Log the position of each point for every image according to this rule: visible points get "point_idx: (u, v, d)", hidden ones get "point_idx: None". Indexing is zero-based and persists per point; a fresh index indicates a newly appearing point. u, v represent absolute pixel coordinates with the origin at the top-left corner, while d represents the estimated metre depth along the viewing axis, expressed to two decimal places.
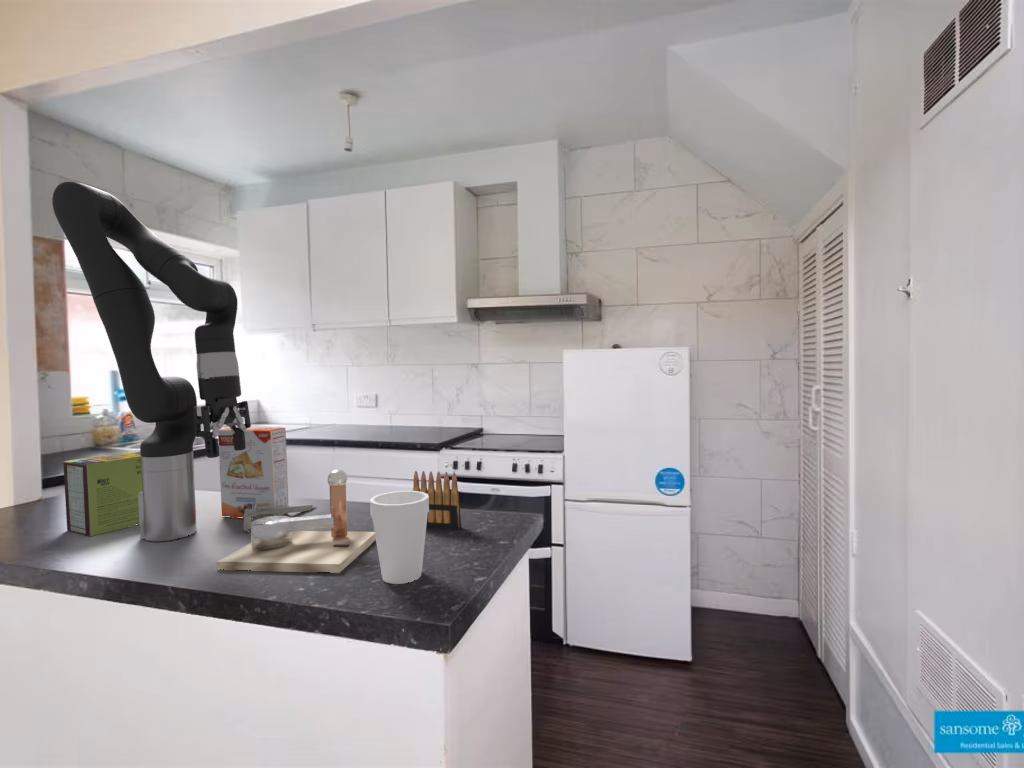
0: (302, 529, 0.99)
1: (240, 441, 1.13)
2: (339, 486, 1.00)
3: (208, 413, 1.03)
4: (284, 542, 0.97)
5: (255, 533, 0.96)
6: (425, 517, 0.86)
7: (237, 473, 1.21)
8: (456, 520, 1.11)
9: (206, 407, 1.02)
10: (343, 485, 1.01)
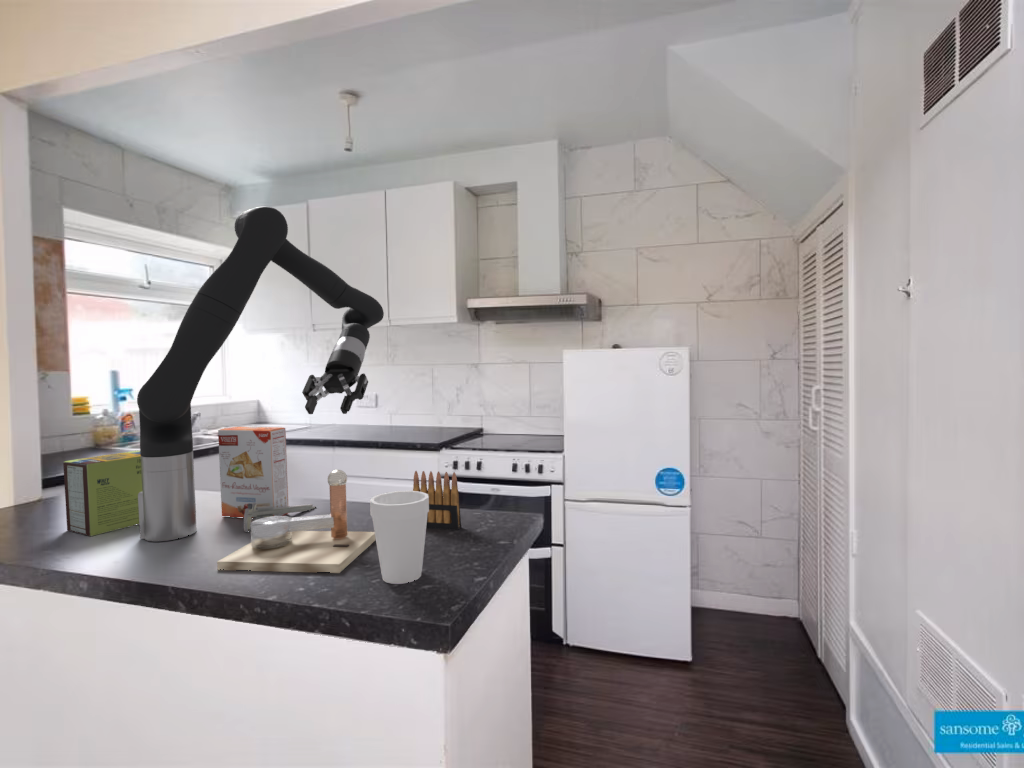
0: (302, 529, 0.99)
1: (313, 407, 1.19)
2: (339, 486, 1.00)
3: None
4: (284, 542, 0.97)
5: (255, 533, 0.96)
6: (425, 517, 0.86)
7: (237, 473, 1.21)
8: (456, 520, 1.11)
9: None
10: (343, 485, 1.01)
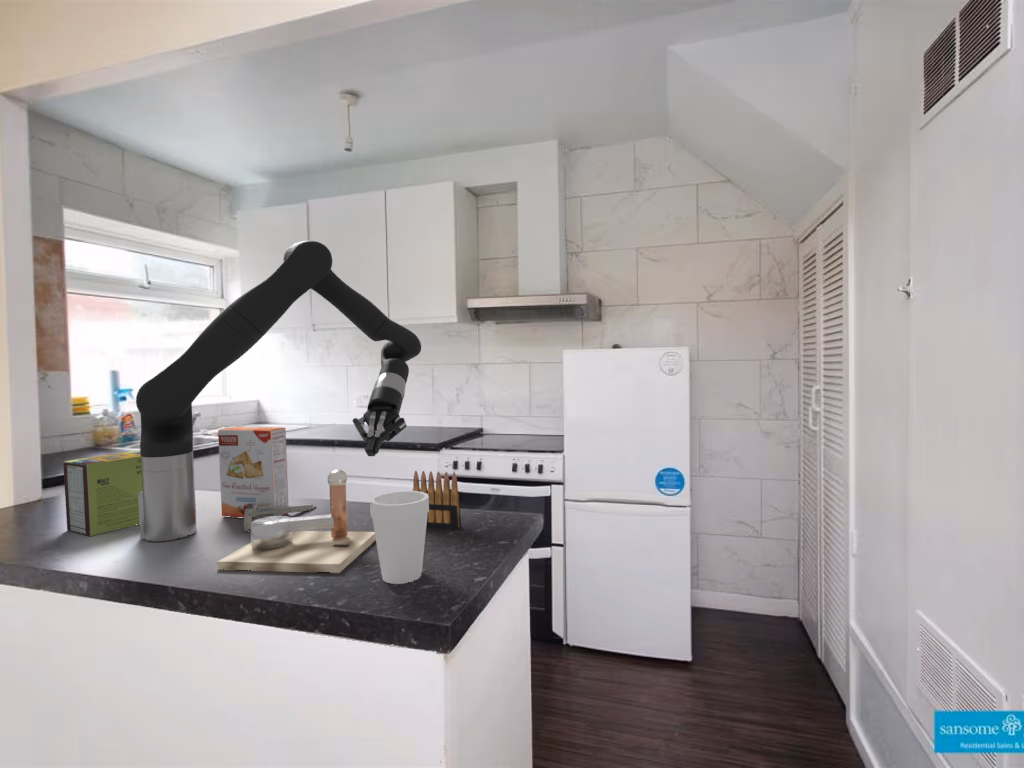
0: (302, 529, 0.99)
1: None
2: (339, 486, 1.00)
3: None
4: (284, 542, 0.97)
5: (255, 533, 0.96)
6: (425, 517, 0.86)
7: (237, 473, 1.21)
8: (456, 520, 1.11)
9: None
10: (343, 485, 1.01)
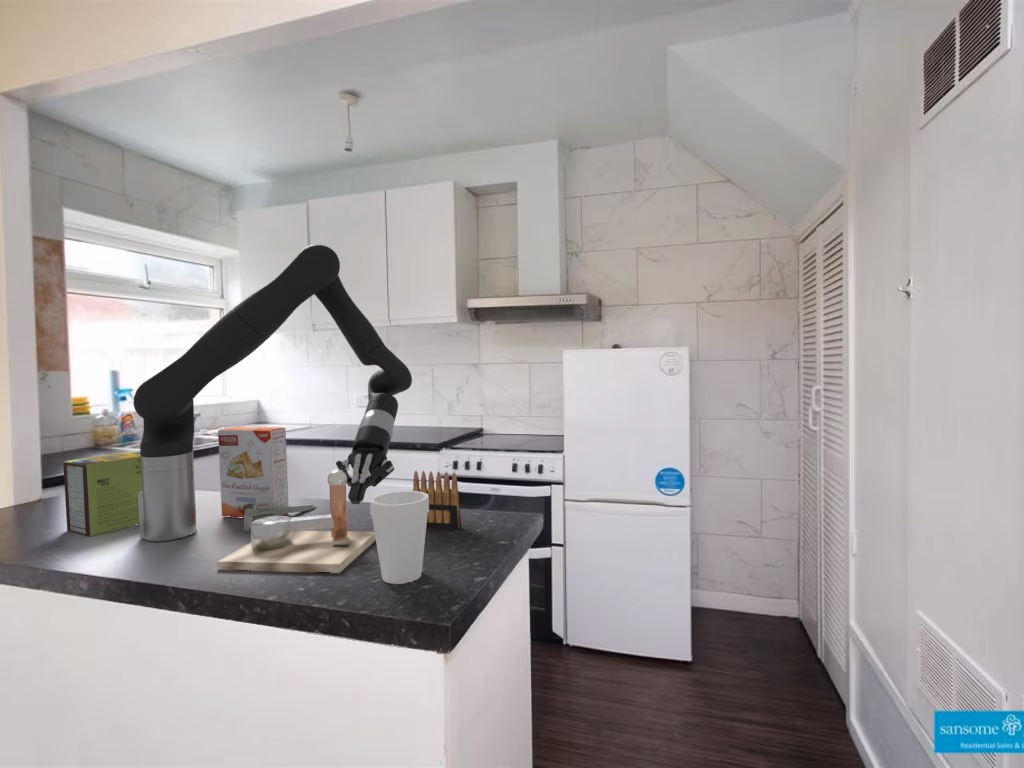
0: (302, 529, 0.99)
1: None
2: (339, 486, 1.00)
3: None
4: (284, 542, 0.97)
5: (255, 533, 0.96)
6: (425, 517, 0.86)
7: (237, 473, 1.21)
8: (456, 520, 1.11)
9: None
10: (343, 485, 1.01)
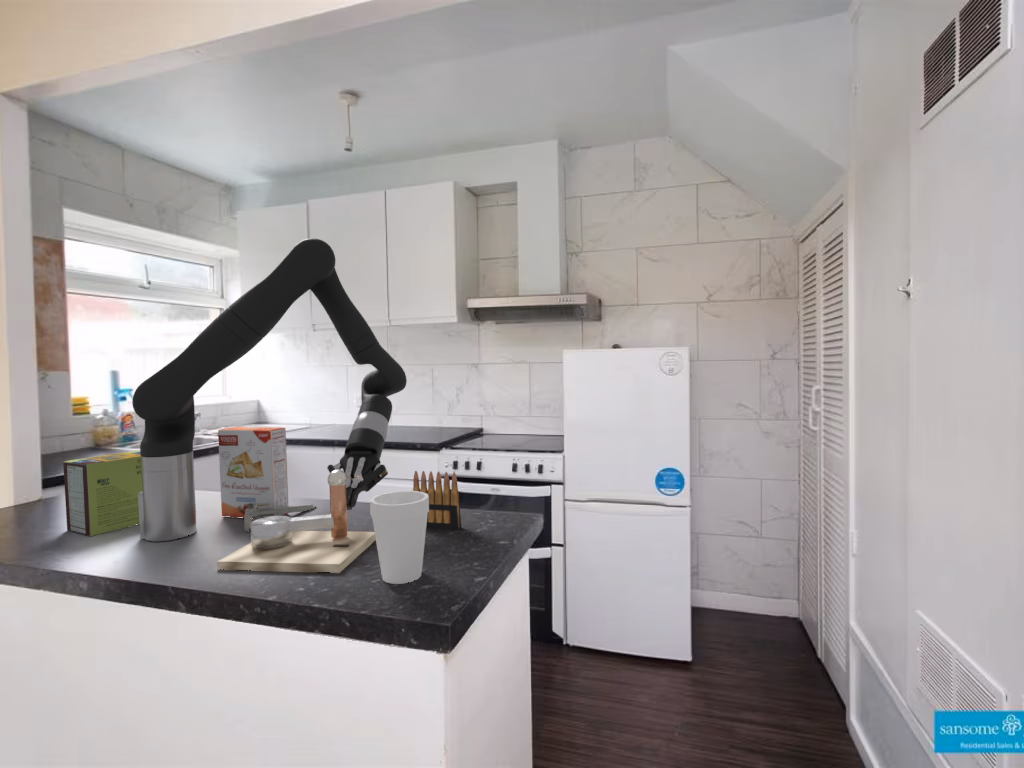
0: (302, 529, 0.99)
1: None
2: (339, 486, 1.00)
3: None
4: (284, 542, 0.97)
5: (255, 533, 0.96)
6: (425, 517, 0.86)
7: (237, 473, 1.21)
8: (456, 520, 1.11)
9: None
10: (343, 485, 1.01)
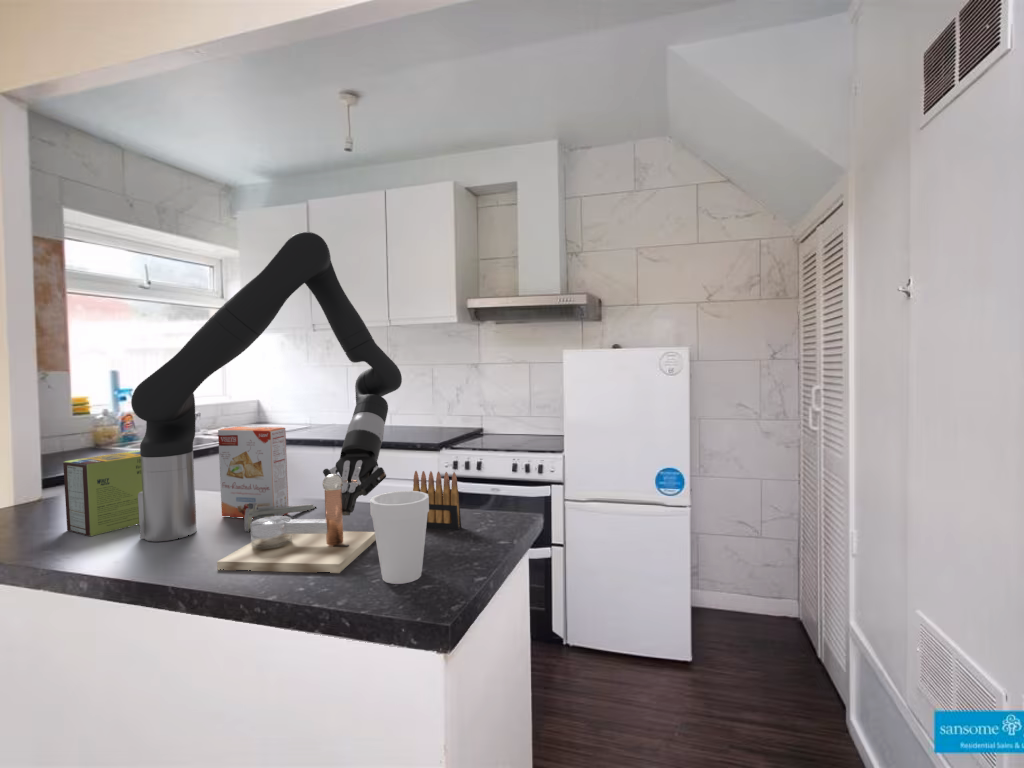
0: (297, 532, 0.97)
1: None
2: (332, 491, 0.96)
3: None
4: (278, 544, 0.96)
5: (252, 532, 0.96)
6: (425, 517, 0.86)
7: (237, 473, 1.21)
8: (456, 520, 1.11)
9: None
10: (337, 490, 0.97)
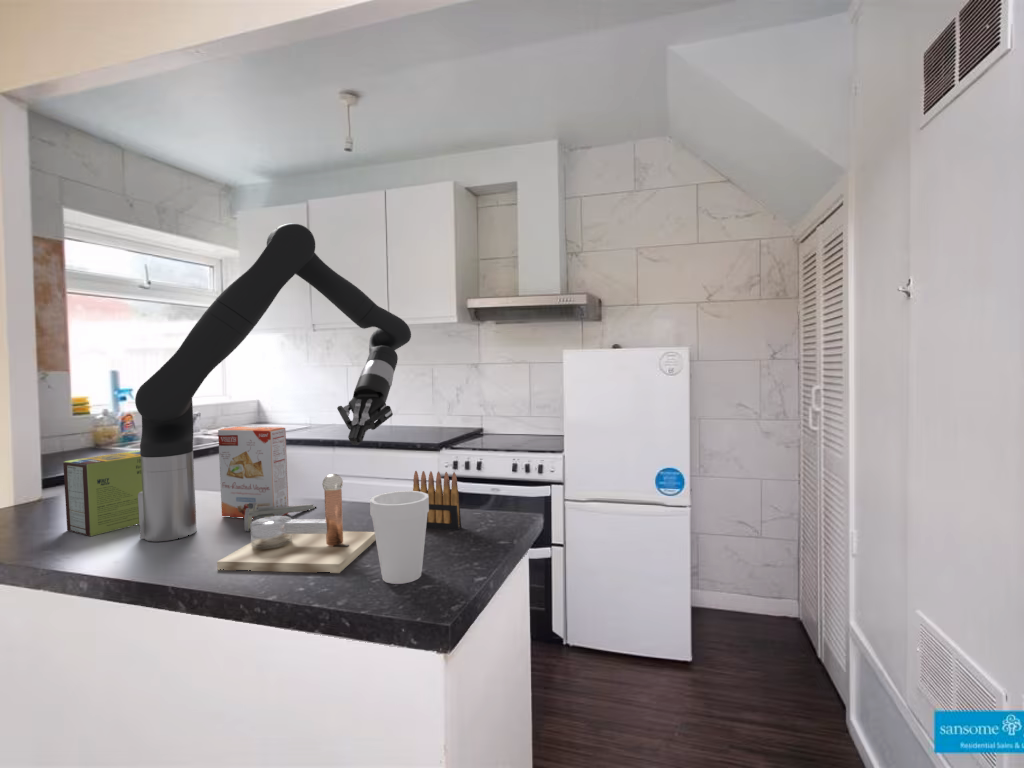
0: (297, 532, 0.97)
1: None
2: (331, 491, 0.96)
3: None
4: (278, 544, 0.96)
5: (252, 532, 0.96)
6: (425, 517, 0.86)
7: (237, 473, 1.21)
8: (456, 520, 1.11)
9: None
10: (337, 491, 0.97)
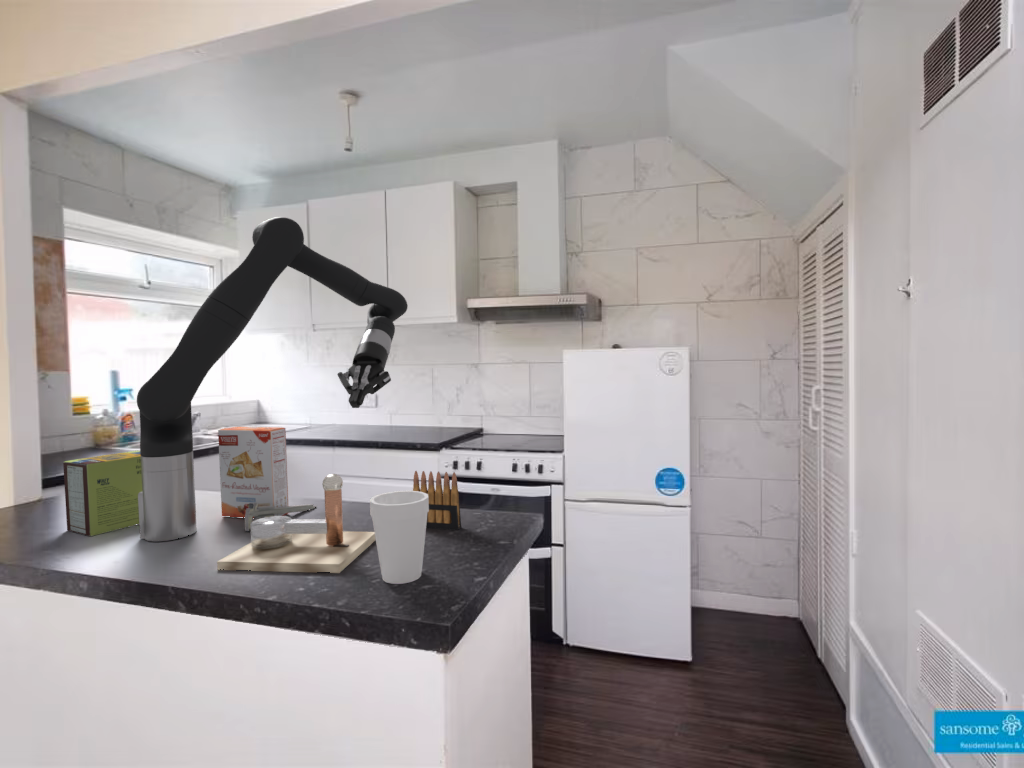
0: (297, 532, 0.97)
1: None
2: (331, 491, 0.96)
3: None
4: (278, 544, 0.96)
5: (252, 532, 0.96)
6: (425, 517, 0.86)
7: (237, 473, 1.21)
8: (456, 520, 1.11)
9: None
10: (337, 491, 0.97)
